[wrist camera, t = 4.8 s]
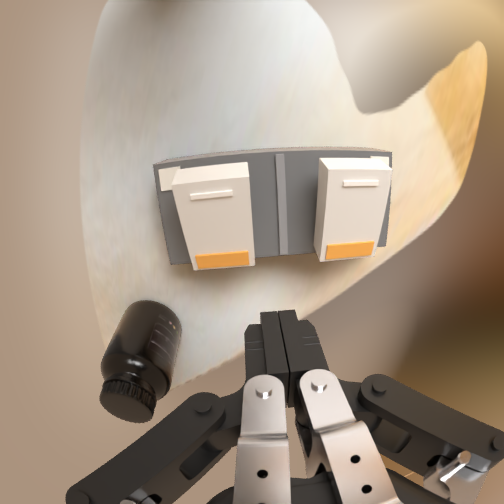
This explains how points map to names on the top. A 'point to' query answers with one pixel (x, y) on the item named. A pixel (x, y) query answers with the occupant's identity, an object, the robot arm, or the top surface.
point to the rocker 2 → (350, 207)
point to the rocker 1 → (216, 215)
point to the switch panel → (266, 196)
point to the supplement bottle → (140, 361)
